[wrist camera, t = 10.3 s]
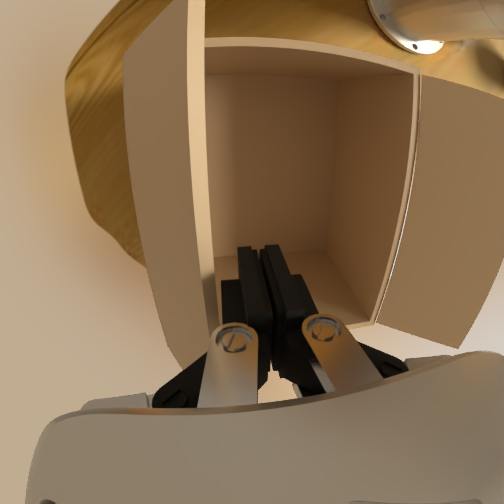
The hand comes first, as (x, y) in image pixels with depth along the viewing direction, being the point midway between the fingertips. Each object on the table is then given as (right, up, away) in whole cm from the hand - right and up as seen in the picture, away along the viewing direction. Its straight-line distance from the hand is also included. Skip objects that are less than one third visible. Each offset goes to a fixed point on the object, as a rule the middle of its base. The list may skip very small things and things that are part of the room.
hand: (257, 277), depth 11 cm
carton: (+1, +10, +18) cm, 21 cm away
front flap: (-4, +1, +2) cm, 5 cm away
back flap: (+15, +2, +4) cm, 16 cm away
